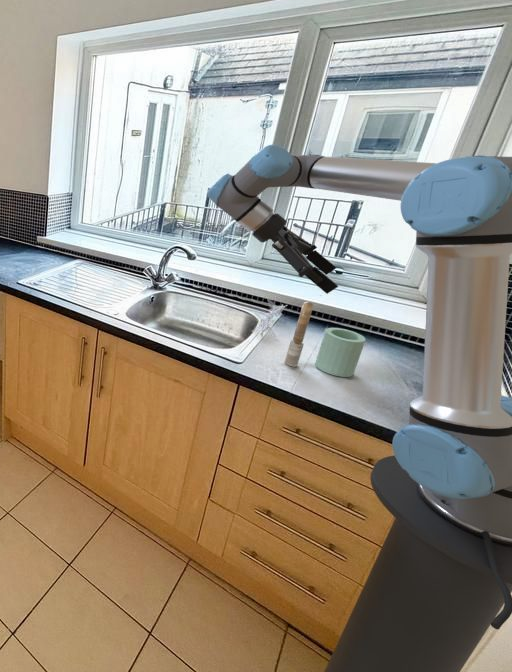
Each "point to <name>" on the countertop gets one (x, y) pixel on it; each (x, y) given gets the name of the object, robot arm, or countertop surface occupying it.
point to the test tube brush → (268, 319)
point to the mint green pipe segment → (340, 352)
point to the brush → (299, 336)
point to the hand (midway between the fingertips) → (331, 280)
